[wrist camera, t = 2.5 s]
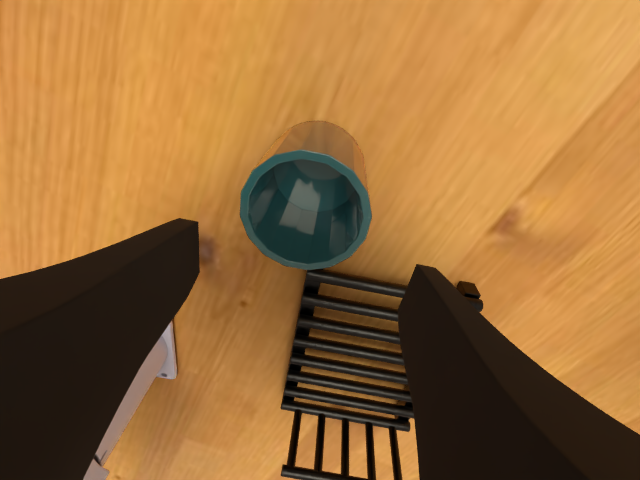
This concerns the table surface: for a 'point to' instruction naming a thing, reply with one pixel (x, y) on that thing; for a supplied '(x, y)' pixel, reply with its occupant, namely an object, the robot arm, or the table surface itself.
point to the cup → (308, 198)
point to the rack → (348, 372)
